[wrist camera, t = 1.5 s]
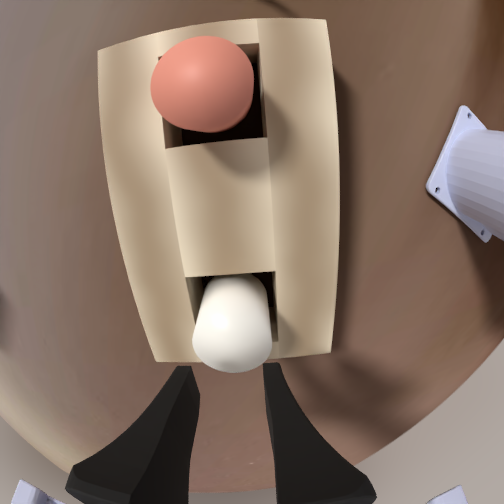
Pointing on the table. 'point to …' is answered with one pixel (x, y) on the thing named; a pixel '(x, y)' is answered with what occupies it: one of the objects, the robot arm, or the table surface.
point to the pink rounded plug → (203, 84)
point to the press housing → (228, 187)
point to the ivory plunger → (233, 324)
